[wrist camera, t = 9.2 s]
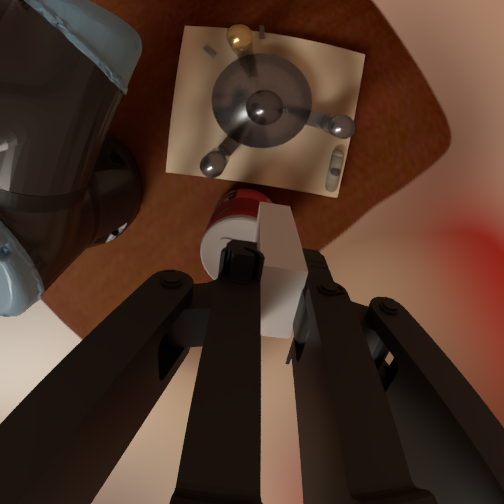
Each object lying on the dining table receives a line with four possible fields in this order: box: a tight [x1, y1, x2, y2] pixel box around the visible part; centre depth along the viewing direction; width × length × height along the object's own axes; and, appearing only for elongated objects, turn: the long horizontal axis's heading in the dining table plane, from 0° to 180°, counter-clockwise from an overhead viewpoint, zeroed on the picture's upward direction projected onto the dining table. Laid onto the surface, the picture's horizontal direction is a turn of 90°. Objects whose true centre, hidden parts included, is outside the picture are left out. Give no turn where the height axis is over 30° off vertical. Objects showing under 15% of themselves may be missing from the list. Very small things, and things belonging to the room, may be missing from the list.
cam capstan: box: [200, 24, 355, 178], centre depth 28 cm, size 13×16×7 cm
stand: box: [166, 25, 365, 198], centre depth 32 cm, size 20×18×4 cm
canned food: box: [200, 188, 273, 280], centre depth 34 cm, size 8×8×11 cm
